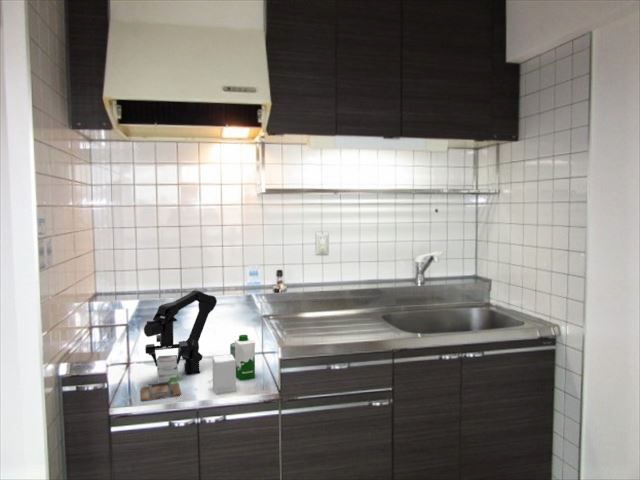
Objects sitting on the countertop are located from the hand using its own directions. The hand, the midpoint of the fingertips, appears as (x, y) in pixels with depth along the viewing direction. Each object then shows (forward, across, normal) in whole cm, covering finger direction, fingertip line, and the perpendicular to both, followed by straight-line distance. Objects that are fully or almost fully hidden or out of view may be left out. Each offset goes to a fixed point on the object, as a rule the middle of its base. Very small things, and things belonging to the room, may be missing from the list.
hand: (167, 365), depth 217 cm
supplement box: (+8, -22, +22) cm, 32 cm away
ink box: (+8, 0, 0) cm, 8 cm away
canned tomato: (+8, -35, -10) cm, 37 cm away
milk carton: (+8, -34, +10) cm, 37 cm away
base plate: (+8, +4, +13) cm, 16 cm away
